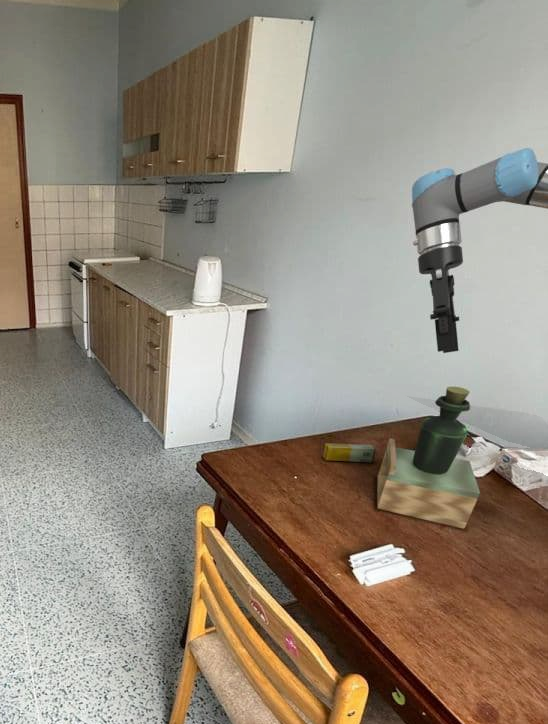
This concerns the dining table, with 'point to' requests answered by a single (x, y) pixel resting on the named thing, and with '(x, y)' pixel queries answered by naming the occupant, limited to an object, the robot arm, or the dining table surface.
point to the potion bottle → (442, 433)
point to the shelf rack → (426, 489)
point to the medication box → (349, 452)
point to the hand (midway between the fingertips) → (448, 351)
